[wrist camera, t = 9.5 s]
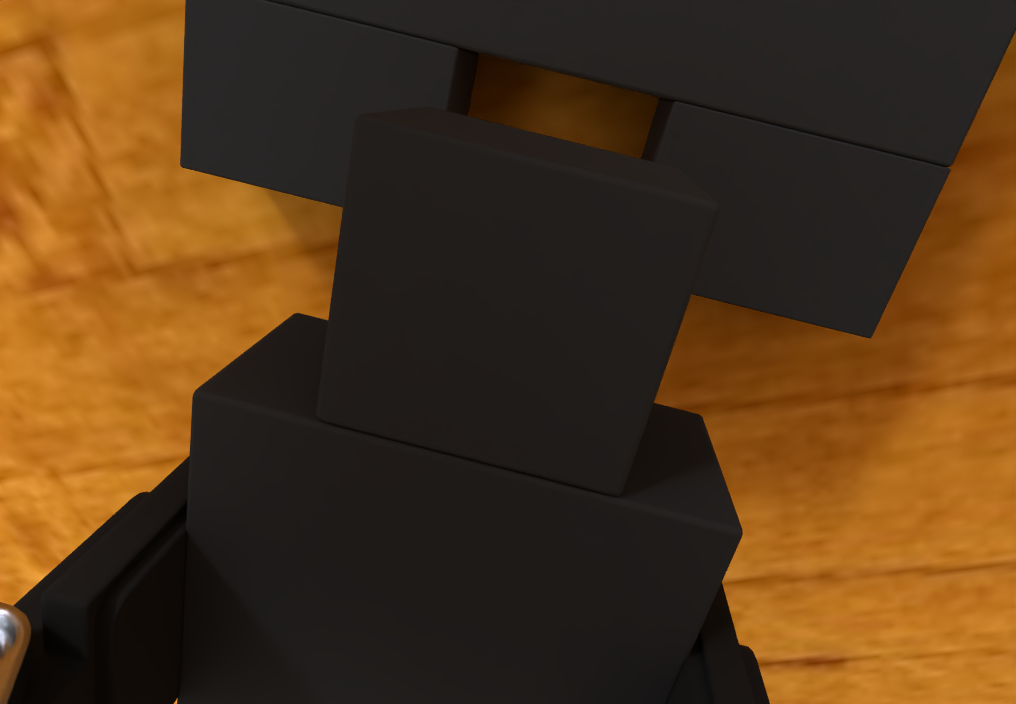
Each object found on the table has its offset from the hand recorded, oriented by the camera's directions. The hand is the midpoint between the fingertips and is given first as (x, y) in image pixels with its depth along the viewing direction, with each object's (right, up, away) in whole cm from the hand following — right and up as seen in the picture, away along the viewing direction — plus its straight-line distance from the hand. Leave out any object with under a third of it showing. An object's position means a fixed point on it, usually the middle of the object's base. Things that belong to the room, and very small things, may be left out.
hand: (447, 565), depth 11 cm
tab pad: (0, +2, 0) cm, 2 cm away
